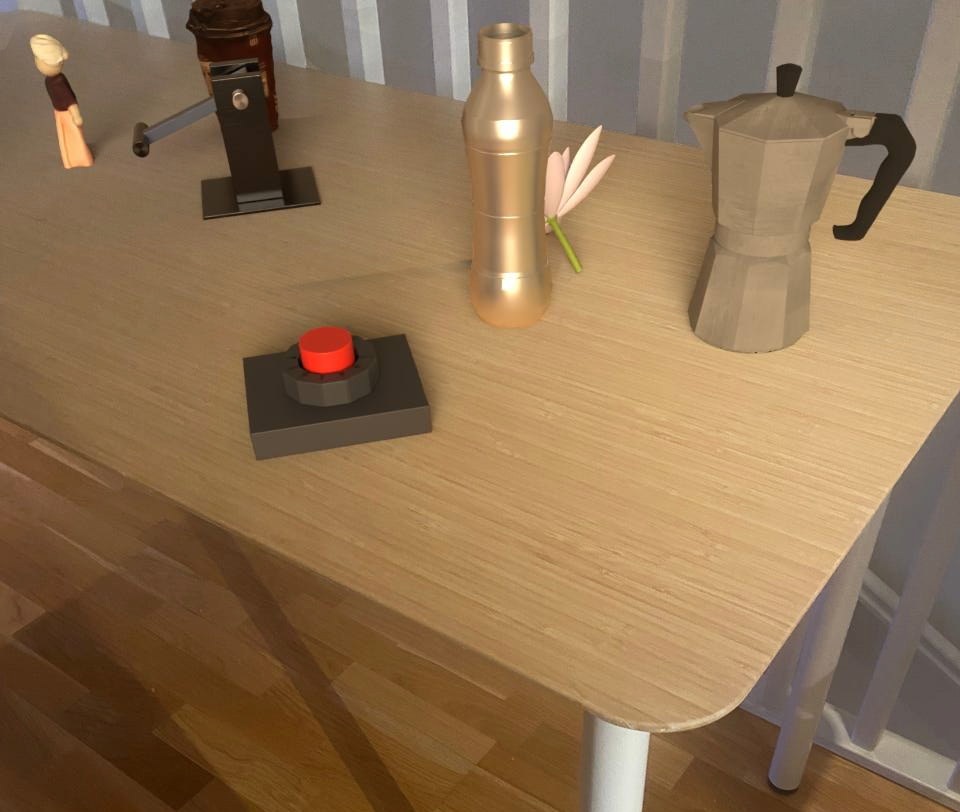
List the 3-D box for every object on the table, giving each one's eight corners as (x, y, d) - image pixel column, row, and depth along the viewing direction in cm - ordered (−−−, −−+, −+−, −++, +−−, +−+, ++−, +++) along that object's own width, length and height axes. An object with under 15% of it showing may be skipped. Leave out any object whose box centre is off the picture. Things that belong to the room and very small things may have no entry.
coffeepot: (646, 339, 75) (669, 78, 62) (679, 284, 81) (706, 35, 68) (855, 375, 70) (927, 101, 57) (874, 313, 76) (943, 52, 63)
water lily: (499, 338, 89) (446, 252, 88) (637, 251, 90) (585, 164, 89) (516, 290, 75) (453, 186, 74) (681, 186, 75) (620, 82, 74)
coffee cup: (221, 158, 104) (190, 18, 95) (203, 133, 110) (172, -2, 100) (300, 142, 106) (277, 3, 97) (279, 119, 112) (255, -15, 102)
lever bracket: (205, 229, 92) (171, 91, 83) (203, 192, 98) (171, 60, 90) (322, 214, 93) (300, 76, 85) (313, 178, 99) (292, 47, 91)
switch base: (256, 461, 66) (243, 410, 63) (248, 384, 73) (236, 334, 70) (431, 433, 67) (427, 382, 65) (408, 359, 74) (402, 310, 71)
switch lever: (141, 165, 89) (125, 140, 87) (142, 146, 92) (127, 121, 90) (261, 106, 87) (247, 78, 86) (257, 88, 91) (244, 61, 89)
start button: (305, 380, 66) (300, 356, 65) (300, 353, 69) (296, 330, 67) (358, 372, 66) (354, 348, 65) (351, 345, 69) (348, 322, 68)
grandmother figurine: (51, 167, 105) (5, 31, 95) (84, 156, 106) (42, 22, 97) (85, 186, 100) (40, 47, 91) (119, 175, 102) (78, 37, 93)
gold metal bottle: (541, 292, 81) (542, 11, 66) (560, 333, 76) (565, 40, 62) (464, 302, 80) (447, 21, 66) (478, 343, 75) (464, 51, 61)
